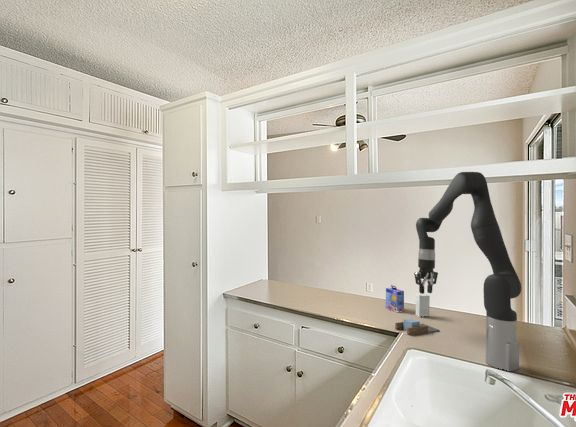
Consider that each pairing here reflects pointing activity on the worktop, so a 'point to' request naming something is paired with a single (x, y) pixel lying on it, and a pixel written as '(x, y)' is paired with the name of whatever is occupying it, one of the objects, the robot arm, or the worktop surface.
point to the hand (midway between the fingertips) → (425, 293)
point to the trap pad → (430, 328)
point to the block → (410, 323)
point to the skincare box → (422, 304)
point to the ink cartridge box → (394, 299)
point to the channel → (412, 328)
